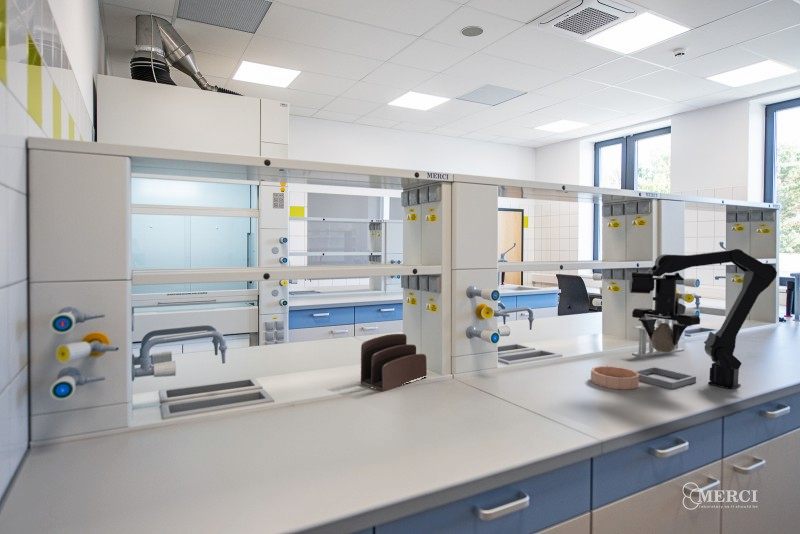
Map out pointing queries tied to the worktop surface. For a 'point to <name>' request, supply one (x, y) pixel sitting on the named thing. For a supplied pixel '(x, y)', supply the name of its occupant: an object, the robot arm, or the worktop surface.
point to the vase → (663, 338)
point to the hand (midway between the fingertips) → (663, 343)
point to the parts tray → (684, 378)
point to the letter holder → (390, 362)
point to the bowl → (615, 377)
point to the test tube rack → (642, 344)
